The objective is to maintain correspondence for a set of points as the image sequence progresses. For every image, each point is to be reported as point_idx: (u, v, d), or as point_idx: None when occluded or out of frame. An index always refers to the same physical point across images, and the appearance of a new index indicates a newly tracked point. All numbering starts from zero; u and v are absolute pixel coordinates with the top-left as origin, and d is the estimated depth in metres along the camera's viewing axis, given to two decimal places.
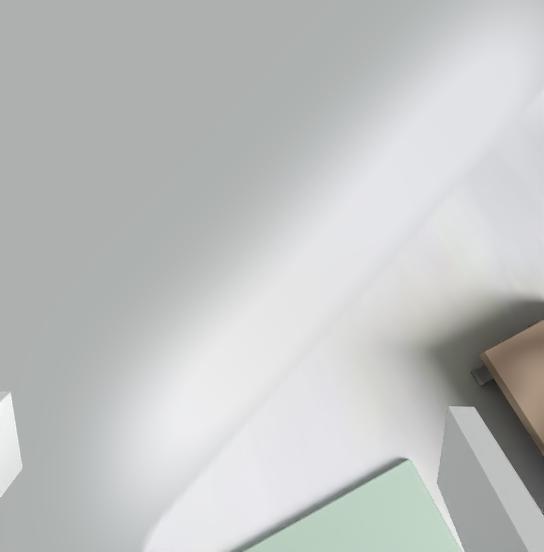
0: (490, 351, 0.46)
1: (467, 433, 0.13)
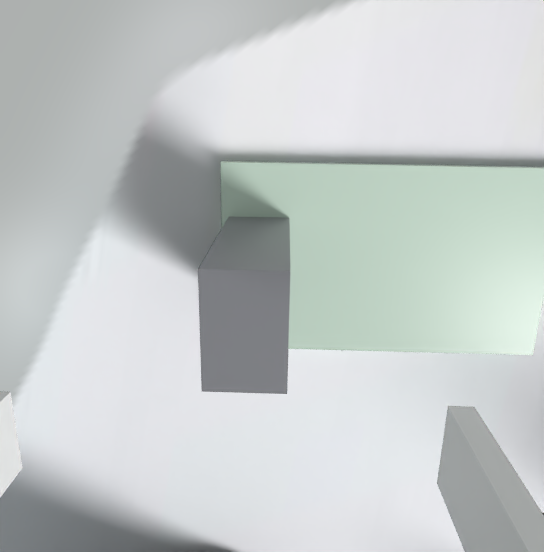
0: None
1: (466, 433, 0.13)
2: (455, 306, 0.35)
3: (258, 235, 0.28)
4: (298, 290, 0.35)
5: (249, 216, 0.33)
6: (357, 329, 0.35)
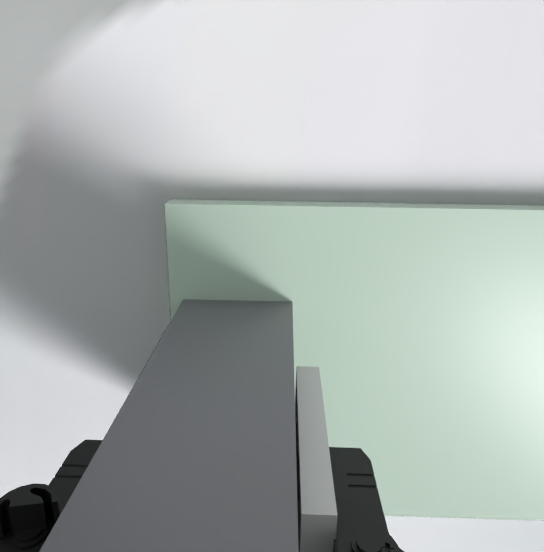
0: None
1: (299, 386, 0.15)
2: None
3: (227, 371, 0.13)
4: None
5: (220, 299, 0.18)
6: (410, 484, 0.21)
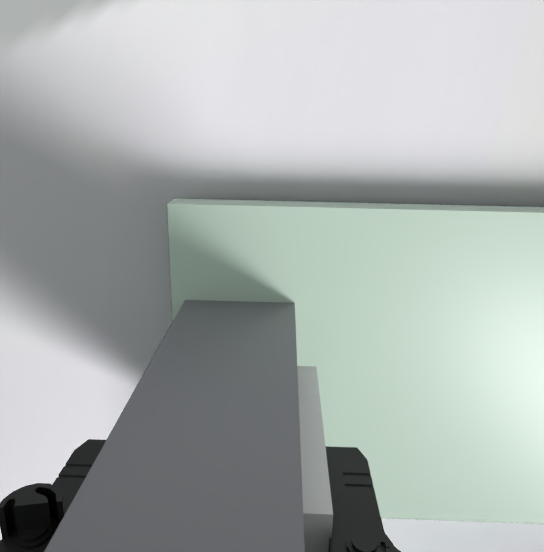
0: None
1: None
2: None
3: (230, 373, 0.13)
4: None
5: (222, 300, 0.18)
6: (411, 487, 0.20)
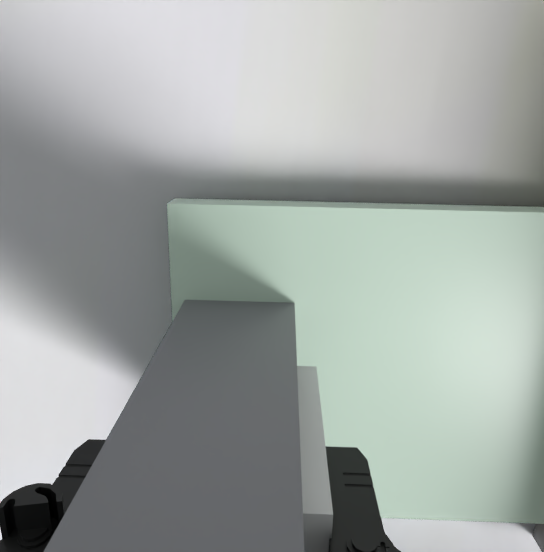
0: None
1: None
2: None
3: (230, 372, 0.13)
4: None
5: (221, 300, 0.18)
6: (411, 487, 0.20)
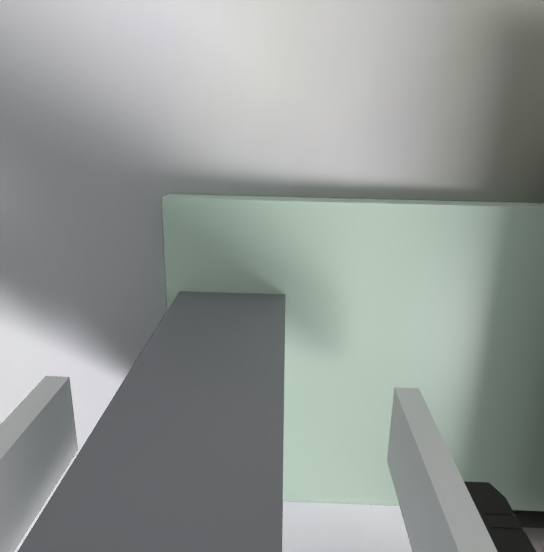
0: None
1: (407, 411, 0.14)
2: None
3: (220, 358, 0.14)
4: (300, 412, 0.20)
5: (215, 291, 0.19)
6: None
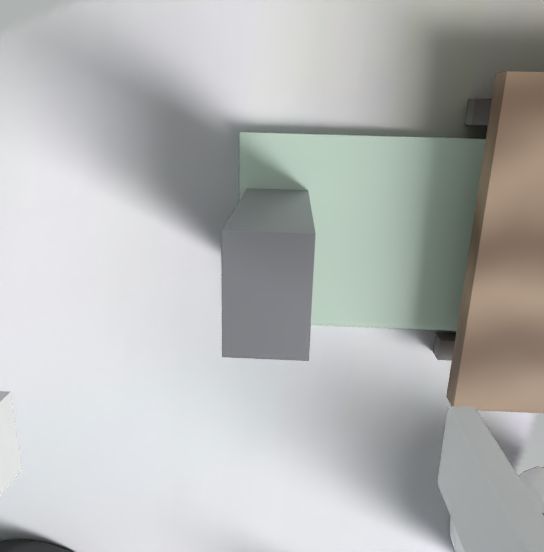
0: (516, 75, 0.26)
1: (467, 433, 0.13)
2: None
3: (278, 204, 0.28)
4: (315, 265, 0.34)
5: (267, 188, 0.33)
6: (375, 306, 0.35)
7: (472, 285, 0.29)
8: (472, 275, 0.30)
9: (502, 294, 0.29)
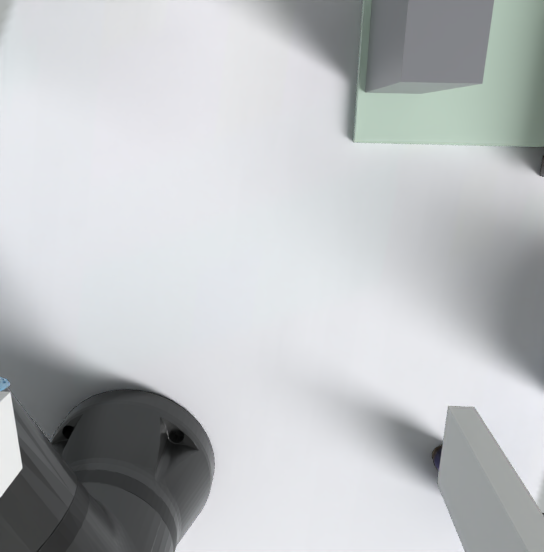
0: None
1: (467, 433, 0.13)
2: None
3: None
4: None
5: None
6: (487, 123, 0.37)
7: None
8: None
9: None
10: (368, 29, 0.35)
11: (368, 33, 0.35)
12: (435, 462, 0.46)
